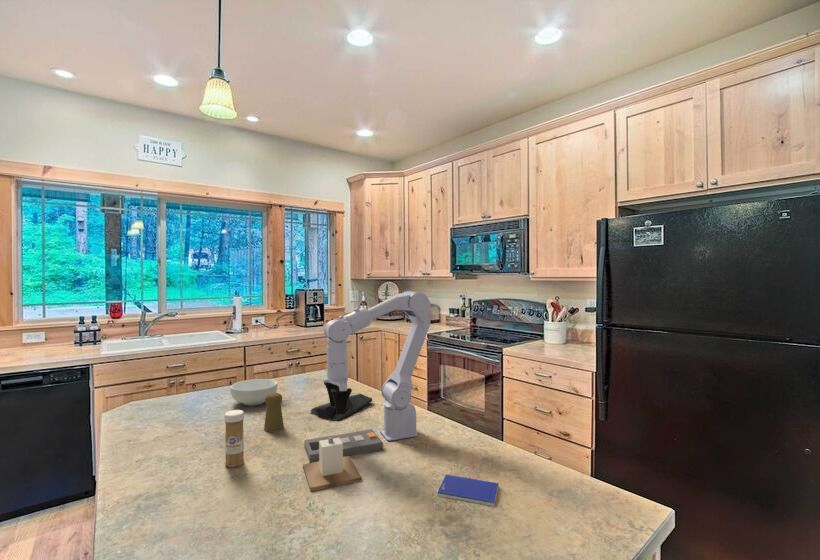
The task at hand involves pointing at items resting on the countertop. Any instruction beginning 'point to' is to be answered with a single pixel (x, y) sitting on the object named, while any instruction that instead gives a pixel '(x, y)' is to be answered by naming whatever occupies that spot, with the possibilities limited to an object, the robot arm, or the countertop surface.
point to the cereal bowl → (253, 391)
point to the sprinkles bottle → (234, 438)
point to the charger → (330, 456)
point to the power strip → (347, 444)
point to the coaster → (321, 482)
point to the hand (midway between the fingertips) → (337, 409)
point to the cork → (273, 413)
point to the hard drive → (468, 489)
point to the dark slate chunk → (352, 406)
